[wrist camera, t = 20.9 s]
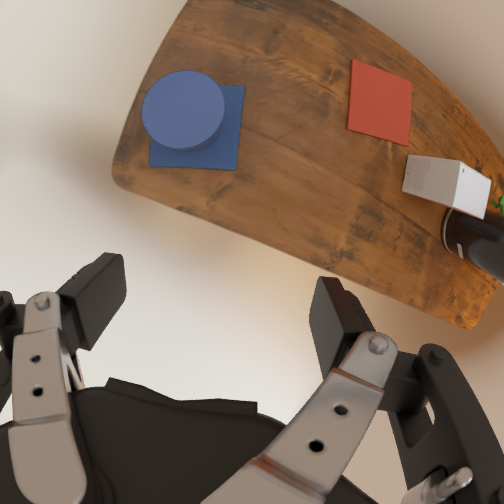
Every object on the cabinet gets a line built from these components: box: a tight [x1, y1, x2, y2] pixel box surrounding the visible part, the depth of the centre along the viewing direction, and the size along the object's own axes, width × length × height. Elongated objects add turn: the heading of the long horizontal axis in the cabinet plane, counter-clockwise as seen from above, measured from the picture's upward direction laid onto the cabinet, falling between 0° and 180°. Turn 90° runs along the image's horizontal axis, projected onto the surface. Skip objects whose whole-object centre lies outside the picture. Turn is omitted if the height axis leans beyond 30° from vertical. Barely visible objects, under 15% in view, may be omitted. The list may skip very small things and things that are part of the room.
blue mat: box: [149, 85, 245, 170], centre depth 28 cm, size 10×10×1 cm
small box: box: [402, 155, 491, 220], centre depth 29 cm, size 8×6×10 cm
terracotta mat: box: [347, 59, 412, 147], centre depth 29 cm, size 10×10×1 cm
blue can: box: [142, 70, 225, 151], centre depth 22 cm, size 6×6×12 cm
